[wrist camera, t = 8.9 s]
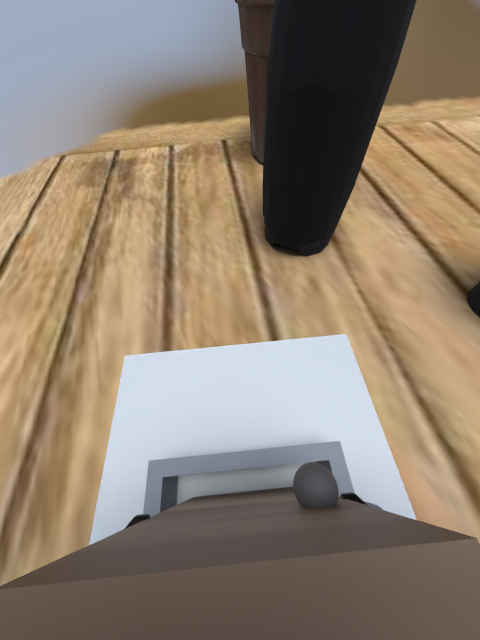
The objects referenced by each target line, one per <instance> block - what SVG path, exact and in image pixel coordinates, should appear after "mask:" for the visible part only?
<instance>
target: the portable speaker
mask: <svg viewBox="0 0 480 640" xmlns="http://www.w3.org/2000/svg"><path fill="white" fill-rule="evenodd" d="M415 3H416V0H275V2H274V11H273V21H272V30H271V39H270V49H269V58H268V67H267V83H266V111H265V139H264V166H263V215H264V222H265V238H266V239H267V241H268V242H269V243H270V245H273V244H274V243H276V244H279V245H281V246H283V247H288V248H291V249H294V250H297V251H299V252H300V253H301V254H303V255H305V256H309V255H312V254H315V253H318V252H321V251H322V250H323V249H324V248H325V247H326V246H327V245H328V243H329V241H330V238H331V236H332V234H333V233H334V231H335V229H336V226H337V224H338V222H339V219H340V217H341V215H342V213H343V210H344V208H345V206H346V203H347V201H348V199H349V197H350V194H351V192H352V190H353V188H354V185H355V182H356V179H357V176H358V174H359V171H360V168H361V165H362V162H363V160H364V157H365V154H366V151H367V148H368V146H369V143H370V140H371V137H372V134H373V131H374V129H375V126H376V123H377V120H378V117H379V115H380V112H381V109H382V106H383V103H384V101H385V98H386V95H387V92H388V89H389V86H390V83H391V81H392V78H393V75H394V72H395V70H396V67H397V64H398V60H399V57H400V54H401V50H402V47H403V43H404V40H405V36H406V34H407V30H408V27H409V23H410V20H411V17H412V13H413V10H414V7H415Z"/></svg>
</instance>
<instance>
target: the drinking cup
mask: <svg viewBox="0 0 480 640" xmlns="http://www.w3.org/2000/svg"><path fill="white" fill-rule="evenodd" d="M468 302H469V304H470V306H471V308H472V309H473V310H474V312H475V313H476V314H477V315H479V316H480V282H479V283H478V284H477V285H476V286H475V287H474V288H473V289H472V290H471V291H470V292H469V294H468Z"/></svg>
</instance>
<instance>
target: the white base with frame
mask: <svg viewBox="0 0 480 640" xmlns="http://www.w3.org/2000/svg"><path fill="white" fill-rule="evenodd" d="M309 462H315V463H319V464H321V465H323V466H325V467H326V468H327V469H328V470H329V471H330V472H331V473H332V474H333V476H334V477H335V479H336V482H337V485H338V489H339V497H340V495H341V493H347V492H353V493H355V494H356V495H357V496H359V497H360V498H361V499H362V500H363V501H364V502H365V503H366V504H367V505H368V506H371V507H375V508H378V509H381V510H385V511H388V512H391V513H394V514H398V515H401V516H404V517H408V518H411V519H414V520H417V519H416V516H415V514H414V511H413V509H412V506H411V503H410V501H409V498H408V495H407V493H406V490H405V487H404V485H403V482H402V480H401V477H400V474H399V472H398V469H397V466H396V464H395V461H394V458H393V456H392V453H391V451H390V448H389V445H388V443H387V440H386V437H385V435H384V432H383V429H382V427H381V424H380V422H379V419H378V416H377V414H376V411H375V408H374V406H373V403H372V400H371V398H370V395H369V393H368V390H367V387H366V385H365V382H364V379H363V377H362V374H361V371H360V369H359V366H358V364H357V361H356V358H355V356H354V353H353V350H352V348H351V345H350V342H349V340H348V337H347V335H346V334H342V335H332V336H321V337H311V338H301V339H291V340H280V341H270V342H260V343H250V344H240V345H229V346H219V347H209V348H199V349H188V350H178V351H168V352H158V353H147V354H137V355H127V356H125V359H124V364H123V369H122V374H121V380H120V385H119V390H118V395H117V401H116V406H115V411H114V416H113V421H112V427H111V432H110V437H109V442H108V448H107V453H106V458H105V463H104V469H103V474H102V479H101V484H100V490H99V495H98V500H97V505H96V511H95V516H94V521H93V526H92V532H91V537H90V542H89V545H91V544H93V543H95V542H97V541H100V540H102V539H104V538H106V537H108V536H110V535H113V534H115V533H117V532H119V531H121V530H123V529H125V527H126V526H127V525H128V524H129V522H130V521H131V520H132V519H133V518H134V517H135V516H136V515H138V514H149V515H150V517H152V516H154V515H156V514H158V513H160V512H163V511H165V510H167V509H169V508H171V507H173V506H176V505H178V504H180V503H182V502H184V501H186V500H189V499H191V498H193V497H198V496H207V495H217V494H227V493H236V492H246V491H256V490H265V489H275V488H284V487H293V480H294V476H295V473H296V471H297V470H298V468H299V467H300V466H302V465H303V464H305V463H309Z"/></svg>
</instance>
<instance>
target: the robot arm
mask: <svg viewBox="0 0 480 640" xmlns="http://www.w3.org/2000/svg"><path fill="white" fill-rule="evenodd" d="M340 498H342V499H348V500H351V501H355V502H358V503H361V504H365V505H367V504H366V503H365V502H364V501H363V500H362V499H361V498H360V497H359V496H357V495H356V494H355V493H353V492H347V493H341V495H340ZM149 518H151V517H150V515H149V514H138V515H136V516H135V517H134V518H133V519H132V520H131V521H130V522H129V524H128V525H127V526H126V527H125V529H126V528H128V527H130V526H132V525H134V524H137V523H139V522H141V521H144V520H147V519H149Z"/></svg>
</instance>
